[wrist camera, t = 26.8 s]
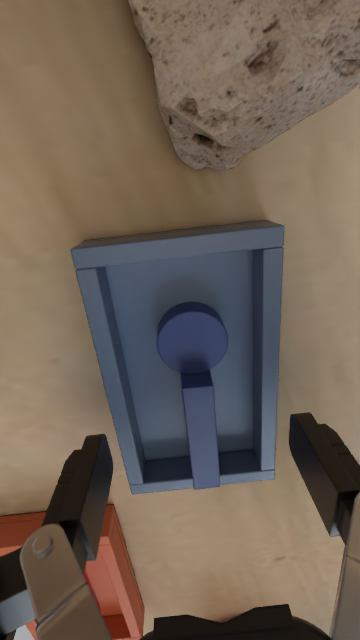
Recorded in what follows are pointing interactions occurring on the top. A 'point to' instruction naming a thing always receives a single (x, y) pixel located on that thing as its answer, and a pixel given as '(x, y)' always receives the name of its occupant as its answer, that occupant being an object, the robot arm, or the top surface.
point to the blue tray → (165, 383)
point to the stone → (245, 69)
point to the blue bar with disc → (196, 379)
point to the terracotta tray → (93, 572)
